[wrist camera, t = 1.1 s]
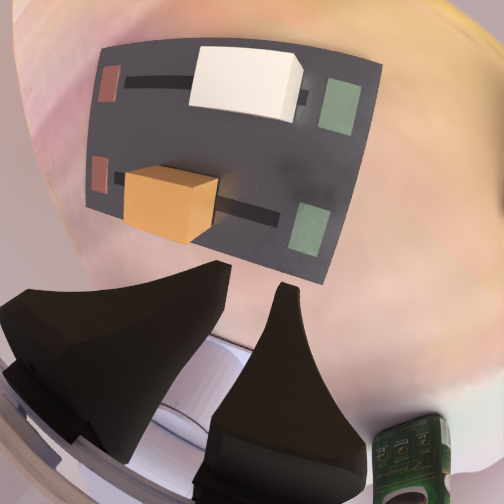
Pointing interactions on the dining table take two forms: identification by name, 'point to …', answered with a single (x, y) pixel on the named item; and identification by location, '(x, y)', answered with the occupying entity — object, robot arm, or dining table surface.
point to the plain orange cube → (169, 202)
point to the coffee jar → (413, 463)
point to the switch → (247, 81)
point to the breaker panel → (237, 147)
